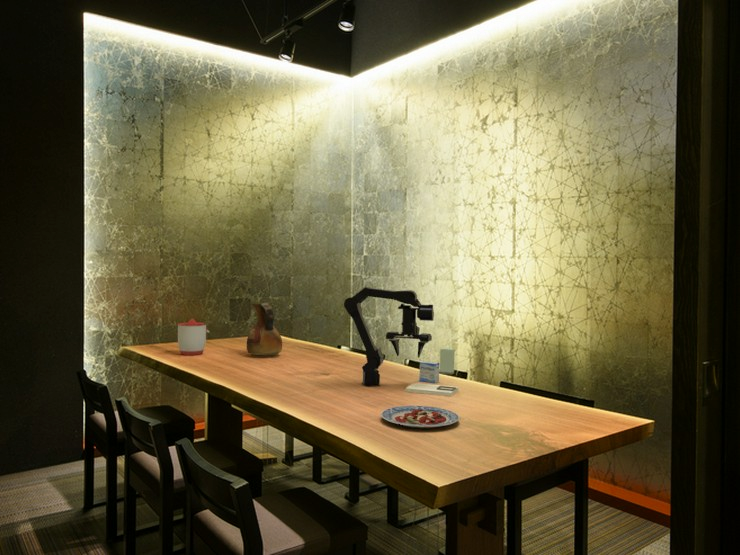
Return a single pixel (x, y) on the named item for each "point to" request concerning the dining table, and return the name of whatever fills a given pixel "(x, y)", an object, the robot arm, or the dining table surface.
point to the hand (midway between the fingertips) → (408, 356)
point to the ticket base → (432, 389)
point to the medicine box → (429, 372)
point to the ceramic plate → (420, 416)
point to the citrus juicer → (192, 337)
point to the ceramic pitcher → (264, 333)
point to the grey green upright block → (447, 360)
